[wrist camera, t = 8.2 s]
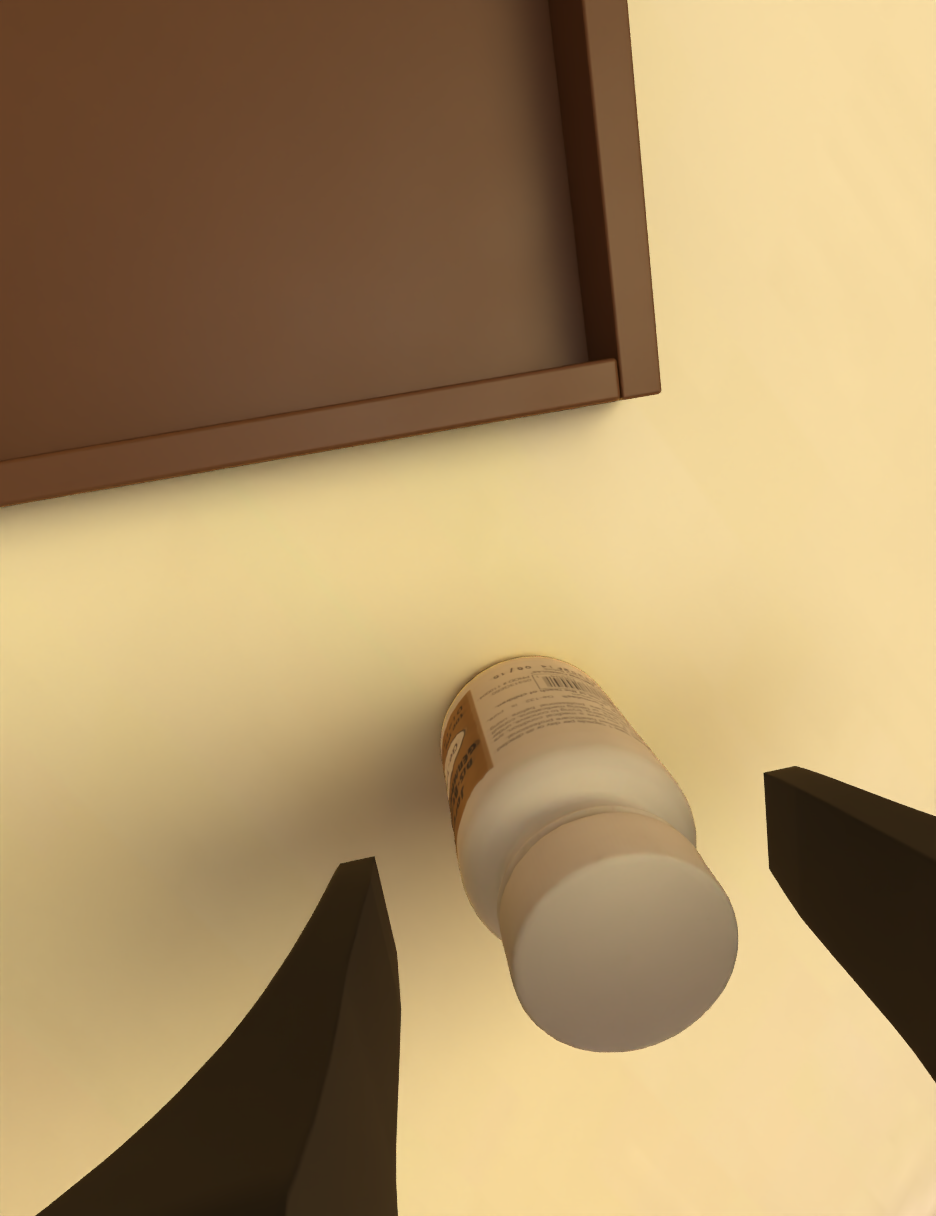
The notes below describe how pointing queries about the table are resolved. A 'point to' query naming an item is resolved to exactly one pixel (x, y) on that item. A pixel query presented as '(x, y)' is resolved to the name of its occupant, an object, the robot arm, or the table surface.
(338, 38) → the tray
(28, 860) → the table surface
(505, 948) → the pill bottle
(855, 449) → the table surface
